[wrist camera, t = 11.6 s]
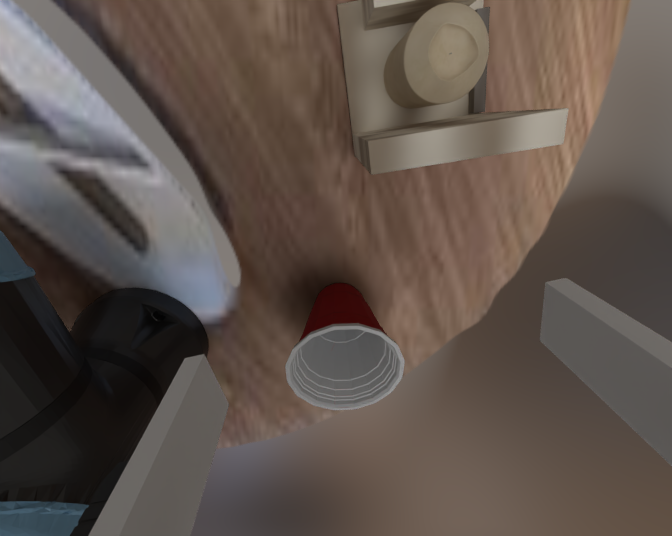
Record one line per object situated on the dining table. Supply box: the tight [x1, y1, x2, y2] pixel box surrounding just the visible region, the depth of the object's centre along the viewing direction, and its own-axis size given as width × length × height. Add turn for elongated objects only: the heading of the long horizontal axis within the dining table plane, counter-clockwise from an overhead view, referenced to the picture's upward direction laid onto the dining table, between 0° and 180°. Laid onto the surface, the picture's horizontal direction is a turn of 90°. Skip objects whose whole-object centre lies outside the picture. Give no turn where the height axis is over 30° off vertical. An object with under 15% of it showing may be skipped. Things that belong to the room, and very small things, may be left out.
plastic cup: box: [285, 283, 405, 410], centre depth 33 cm, size 11×11×12 cm
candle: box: [384, 2, 489, 108], centre depth 23 cm, size 6×6×10 cm
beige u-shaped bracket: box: [337, 0, 568, 175], centre depth 23 cm, size 12×12×13 cm
